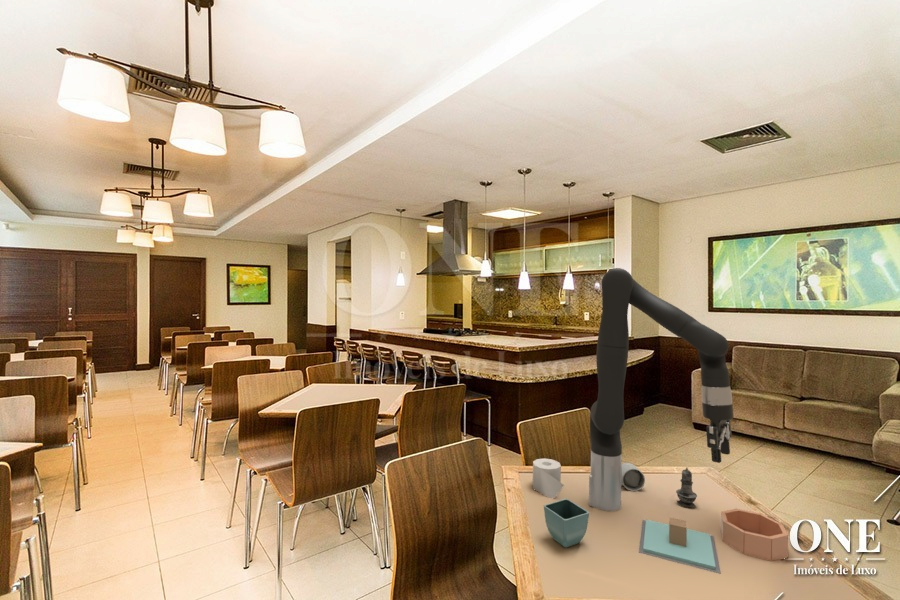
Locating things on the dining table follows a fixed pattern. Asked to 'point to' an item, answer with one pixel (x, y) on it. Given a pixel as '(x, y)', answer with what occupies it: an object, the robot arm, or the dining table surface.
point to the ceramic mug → (632, 477)
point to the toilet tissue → (547, 477)
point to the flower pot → (566, 522)
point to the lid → (679, 543)
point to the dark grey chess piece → (686, 491)
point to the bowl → (754, 534)
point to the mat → (677, 560)
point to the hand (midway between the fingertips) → (721, 457)
